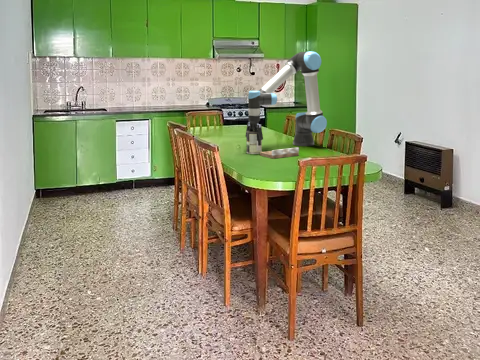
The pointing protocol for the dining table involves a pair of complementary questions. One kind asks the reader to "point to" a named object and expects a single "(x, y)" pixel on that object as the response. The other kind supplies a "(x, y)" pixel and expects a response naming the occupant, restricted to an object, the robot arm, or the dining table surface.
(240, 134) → the dining table surface
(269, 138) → the dining table surface
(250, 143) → the coffee can
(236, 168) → the dining table surface
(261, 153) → the shelf board
